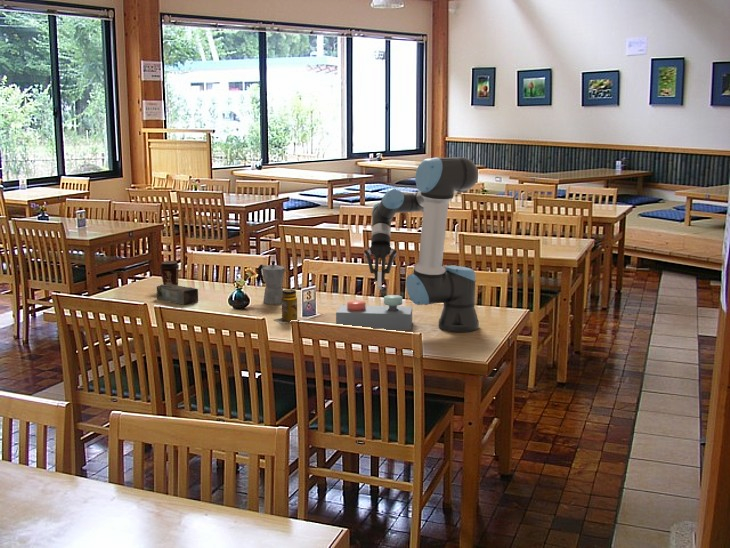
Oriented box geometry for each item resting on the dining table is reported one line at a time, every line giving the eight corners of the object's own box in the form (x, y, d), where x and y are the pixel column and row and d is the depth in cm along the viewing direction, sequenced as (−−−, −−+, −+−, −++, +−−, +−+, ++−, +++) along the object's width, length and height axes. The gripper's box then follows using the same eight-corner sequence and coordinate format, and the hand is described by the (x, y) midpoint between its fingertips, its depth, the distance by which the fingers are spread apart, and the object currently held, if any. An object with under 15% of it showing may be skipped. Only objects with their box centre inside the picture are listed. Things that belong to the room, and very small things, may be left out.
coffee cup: (161, 288, 377) (160, 260, 374) (180, 287, 378) (179, 260, 376) (160, 292, 368) (159, 264, 366) (179, 291, 370) (178, 263, 367)
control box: (412, 321, 317) (412, 306, 316) (410, 329, 306) (410, 314, 305) (340, 319, 320) (340, 304, 319) (336, 327, 309) (336, 312, 308)
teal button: (402, 315, 315) (402, 295, 313) (401, 320, 308) (401, 299, 306) (384, 315, 316) (384, 294, 314) (383, 319, 309) (383, 299, 307)
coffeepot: (293, 302, 350) (292, 260, 346) (278, 306, 342) (277, 264, 339) (266, 297, 359) (265, 257, 355) (251, 301, 351) (250, 260, 348)
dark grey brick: (171, 296, 362) (170, 281, 361) (199, 302, 350) (199, 287, 349) (156, 299, 356) (155, 284, 355) (184, 306, 344) (184, 290, 343)
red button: (366, 320, 317) (366, 300, 315) (364, 325, 310) (364, 305, 308) (348, 320, 318) (348, 300, 316) (346, 325, 311) (346, 304, 309)
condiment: (301, 321, 319) (301, 290, 317) (282, 324, 315) (281, 293, 312) (292, 317, 325) (292, 287, 323) (273, 320, 321) (272, 290, 318)
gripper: (397, 243, 326) (396, 292, 313) (365, 243, 327) (362, 292, 314) (397, 231, 320) (396, 282, 307) (364, 231, 321) (361, 282, 308)
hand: (379, 287), depth 311 cm, fingers closed
